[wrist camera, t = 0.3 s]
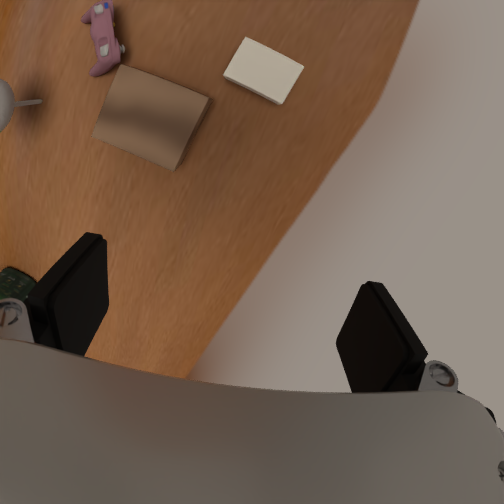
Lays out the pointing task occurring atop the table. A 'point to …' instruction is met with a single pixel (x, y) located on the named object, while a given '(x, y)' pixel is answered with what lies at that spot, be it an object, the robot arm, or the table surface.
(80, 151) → the table surface
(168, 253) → the table surface
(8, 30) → the table surface
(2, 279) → the coffee jar
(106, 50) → the video game controller
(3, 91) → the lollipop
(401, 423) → the robot arm
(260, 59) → the cream block
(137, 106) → the walnut block
